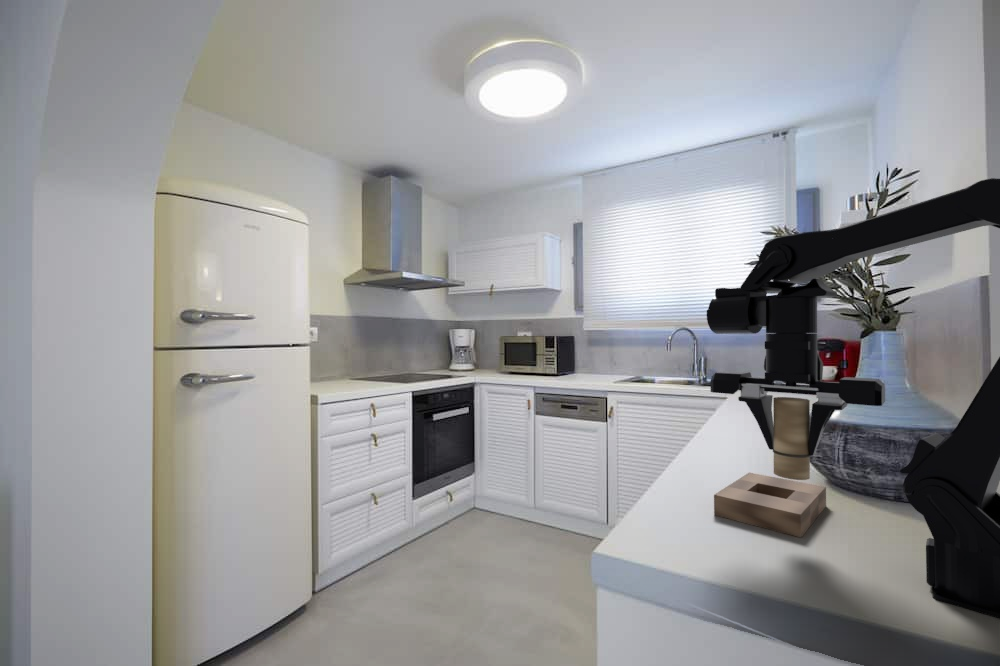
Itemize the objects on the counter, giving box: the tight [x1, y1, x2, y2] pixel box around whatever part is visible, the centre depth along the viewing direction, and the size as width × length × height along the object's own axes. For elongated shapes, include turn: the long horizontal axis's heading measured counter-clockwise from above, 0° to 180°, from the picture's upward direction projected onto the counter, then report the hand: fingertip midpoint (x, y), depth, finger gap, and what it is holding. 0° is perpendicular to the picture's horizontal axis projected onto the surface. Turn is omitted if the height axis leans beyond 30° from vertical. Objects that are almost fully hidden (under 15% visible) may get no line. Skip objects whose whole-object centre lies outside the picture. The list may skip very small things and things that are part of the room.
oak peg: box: [772, 396, 811, 481], centre depth 60 cm, size 4×4×10 cm
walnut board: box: [713, 472, 827, 538], centre depth 69 cm, size 11×16×3 cm
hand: (791, 452), depth 60 cm, fingers closed on oak peg, 4 cm apart
